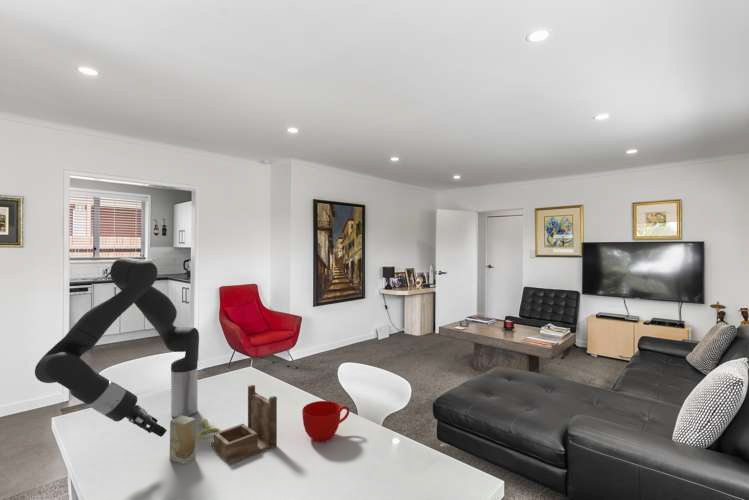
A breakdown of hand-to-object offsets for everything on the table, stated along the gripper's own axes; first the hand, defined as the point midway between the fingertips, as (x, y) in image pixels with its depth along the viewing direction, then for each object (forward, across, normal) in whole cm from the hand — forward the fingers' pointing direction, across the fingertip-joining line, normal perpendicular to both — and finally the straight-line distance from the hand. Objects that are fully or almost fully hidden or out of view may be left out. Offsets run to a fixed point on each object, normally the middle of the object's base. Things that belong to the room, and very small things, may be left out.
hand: (159, 428), depth 112 cm
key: (+22, +13, -5) cm, 26 cm away
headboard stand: (+25, -6, -8) cm, 27 cm away
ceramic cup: (+41, -20, -24) cm, 52 cm away
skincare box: (+13, 0, +4) cm, 13 cm away
